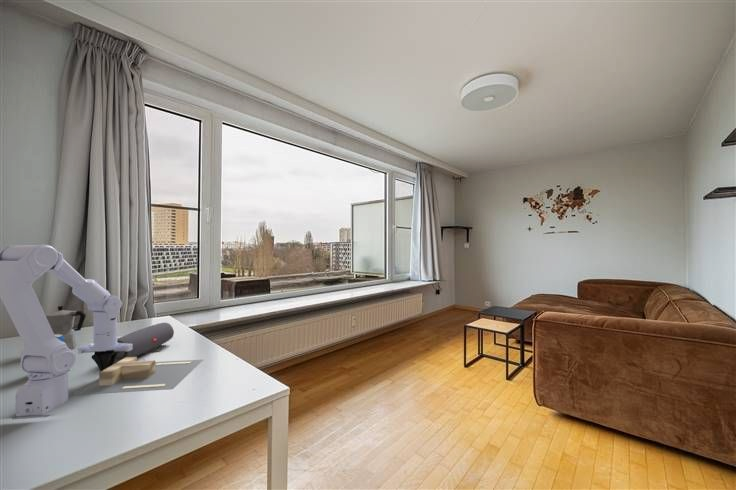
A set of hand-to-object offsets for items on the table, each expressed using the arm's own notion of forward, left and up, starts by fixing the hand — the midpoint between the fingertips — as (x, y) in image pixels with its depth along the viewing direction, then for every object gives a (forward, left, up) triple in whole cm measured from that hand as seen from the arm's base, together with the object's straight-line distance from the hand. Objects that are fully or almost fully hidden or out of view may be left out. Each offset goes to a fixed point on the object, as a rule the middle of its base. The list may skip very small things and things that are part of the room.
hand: (106, 374), depth 96 cm
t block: (0, -8, -1) cm, 8 cm away
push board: (0, -12, -2) cm, 12 cm away
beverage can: (+10, +24, -2) cm, 26 cm away
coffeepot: (+33, +38, -2) cm, 50 cm away
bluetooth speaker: (+23, +2, -2) cm, 23 cm away
